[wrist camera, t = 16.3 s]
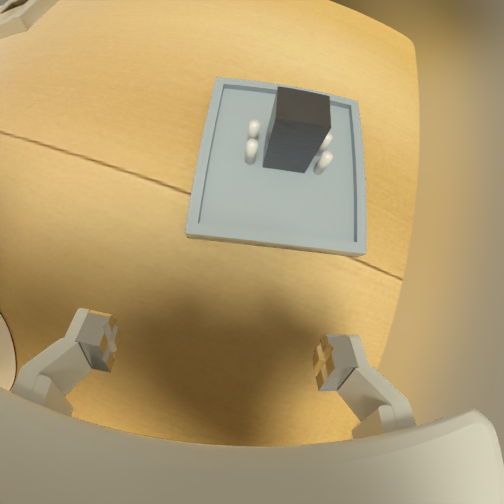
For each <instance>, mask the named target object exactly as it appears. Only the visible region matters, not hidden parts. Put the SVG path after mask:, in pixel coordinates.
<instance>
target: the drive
mask: <svg viewBox="0 0 504 504" xmlns="http://www.w3.org/2000/svg"><path fill="white" fill-rule="evenodd" d="M330 129H331V113H330V97H329V96H327V95H323V94H318V93H313V92H308V91H303V90H298V89H292V88H287V87H280V86H278V88H277V92H276V96H275V100H274V104H273V108H272V112H271V117H270V121H269V125H268V129H267V133H266V138H265V146H264V156H263V168H270V169H277V170H284V171H291V172H298V173H305V172H306V170H307V168H308V166H309V165H310V163H311V161H312V160H313V158H314V156H315V155H316V153H317V151H318V150H319V148H320V146H321V145H322V143H323V141H324V139H325V138H326V136H327V134H328V133H329V131H330Z"/></svg>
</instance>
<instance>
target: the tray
mask: <svg viewBox="0 0 504 504" xmlns="http://www.w3.org/2000/svg"><path fill="white" fill-rule="evenodd" d="M278 86H280V87H287V88H292V89H298V90H303V91H308V92H313V93H318V94H323V95H327V96H329V97H330V113H331V129H330V131H329V133H328V134H327V136H326V138H325V139H324V141H323V143H322V145H321V146H320V148H319V150H318V151H317V153H316V155H315V156H314V158H313V160H312V161H311V163H310V165H309V166H308V168H307V170H306V172H305V173H298V172H291V171H284V170H277V169H270V168H263V156H264V146H265V138H266V133H267V129H268V125H269V121H270V117H271V112H272V108H273V104H274V100H275V96H276V92H277V88H278ZM185 234H186V235H187V237H188V238H193V239H202V240H211V241H220V242H229V243H238V244H247V245H256V246H265V247H273V248H282V249H291V250H299V251H308V252H317V253H325V254H334V255H342V256H351V257H359V256H362V255H365V254H366V185H365V167H364V153H363V141H362V130H361V121H360V113H359V105H358V101H355V100H351V99H347V98H344V97H340V96H335V95H331V94H327V93H323V92H318V91H313V90H308V89H303V88H298V87H292V86H287V85H280V84H274V83H267V82H259V81H251V80H242V79H231V78H218V77H216V81H215V84H214V88H213V92H212V97H211V101H210V105H209V109H208V113H207V118H206V122H205V127H204V131H203V136H202V141H201V146H200V150H199V155H198V160H197V166H196V171H195V176H194V182H193V187H192V193H191V198H190V204H189V210H188V217H187V223H186V229H185Z"/></svg>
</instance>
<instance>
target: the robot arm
mask: <svg viewBox="0 0 504 504" xmlns="http://www.w3.org/2000/svg"><path fill="white" fill-rule="evenodd" d="M115 323H116V318H115V315H113V314H108V313H104V312H99V311H94V310H90V309H85V308H79V309H78V310H77V312H76V314H75V316H74V318H73V320H72V322H71V324H70V326H69V328H68V331H67V333H66V335H65V337H64V338H60V339H59V340H57V341H56V342H54V343H53V344H52V345H50V346H49V347H47V348H46V349H45V350H43V351H42V352H41V353H39V354H38V355H36V356H35V357H34V358H32V359H31V360H30V361H28V362H27V363H26V364H24V365H23V366H22V367H21V369H20V372H19V374H18V377H17V379H16V381H15V384H14V386H13V389H12V392H10V391H9V390H10V388H11V387H12V385H13V382H14V379H15V371H16V361H15V352H14V347H13V343H12V339H11V336H10V333H9V330H8V327H7V325H6V323H5V321H4V319H3V317H2V316H1V314H0V504H504V465H503V460H502V455H501V450H500V446H499V442H498V438H497V435H496V432H495V429H494V427H493V425H492V423H491V422H490V421H489V420H488V419H487V418H486V417H485V416H483V415H482V414H481V413H480V412H479V411H477V410H476V409H474V408H469V409H466V410H463V411H460V412H458V413H455V414H452V415H449V416H446V417H443V418H440V419H437V420H434V421H431V422H427V423H424V424H420V425H417V426H416V423H415V420H414V417H413V413H412V410H411V407H410V404H409V401H408V399H407V398H405V397H404V396H403V395H402V394H401V393H400V392H399V391H398V390H397V389H396V388H395V387H394V386H393V385H392V384H391V383H390V382H388V381H387V380H386V379H385V378H384V377H383V376H382V375H381V374H380V373H379V372H378V371H377V370H376V369H375V368H374V367H370V365H369V362H368V359H367V356H366V353H365V350H364V347H363V344H362V342H361V339H360V337H359V335H323V336H322V338H321V340H320V342H321V344H320V345H319V346H317V347H316V349H315V351H314V355H313V365H314V369H315V370H316V371H317V372H318V374H317V376H316V381H317V386H318V391H335V390H337V392H338V393H339V395H340V396H341V397H342V399H343V400H344V401H345V402H346V404H347V405H348V406H349V407H350V409H351V410H352V411H353V412H354V414H355V415H356V416H357V417H358V419H359V420H360V421H361V422H360V423H359V424H358V425H357V426H356V427H354V428H353V430H352V436H353V439H350V440H343V441H335V442H327V443H317V444H305V445H289V446H230V445H213V444H201V443H192V442H183V441H175V440H168V439H162V438H156V437H150V436H145V435H140V434H135V433H130V432H126V431H121V430H117V429H113V428H109V427H105V426H101V425H98V424H94V423H91V422H87V421H84V420H81V419H78V418H74V417H71V414H72V410H73V407H72V405H71V404H70V403H69V401H68V400H67V399H66V398H65V396H66V395H67V394H68V393H69V392H70V391H71V390H72V389H73V388H74V387H75V386H76V385H77V384H78V383H79V382H80V381H81V380H82V379H83V378H84V377H85V376H86V375H87V374H88V373H89V372H90V371H91V370H92V369H96V370H101V371H106V372H111V369H112V366H113V362H114V356H113V353H114V352H115V351H116V350H117V349H118V346H119V340H120V332H119V328H118V327H117V326H116V325H115ZM91 368H92V369H91Z"/></svg>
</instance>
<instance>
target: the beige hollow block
mask: <svg viewBox="0 0 504 504" xmlns="http://www.w3.org/2000/svg"><path fill="white" fill-rule="evenodd" d="M58 1H59V0H8V1H7V2H6V3H5V4H4V5H3V6H2V7H1V8H0V39H1V38H4V37H7V36H11V35H14V34H17V33H21V32H25V31H27V30H28V29H29V28H30V27H31V26H32V25H33V24H34V23H35V22H36V21H37V20H38V19H39V18H40V17H41V16H42V15H43V14H44V13H46V12H47V11H48V10H49V9H50V8H51V7H52V6H53V5H54V4H56V3H57V2H58Z"/></svg>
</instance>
